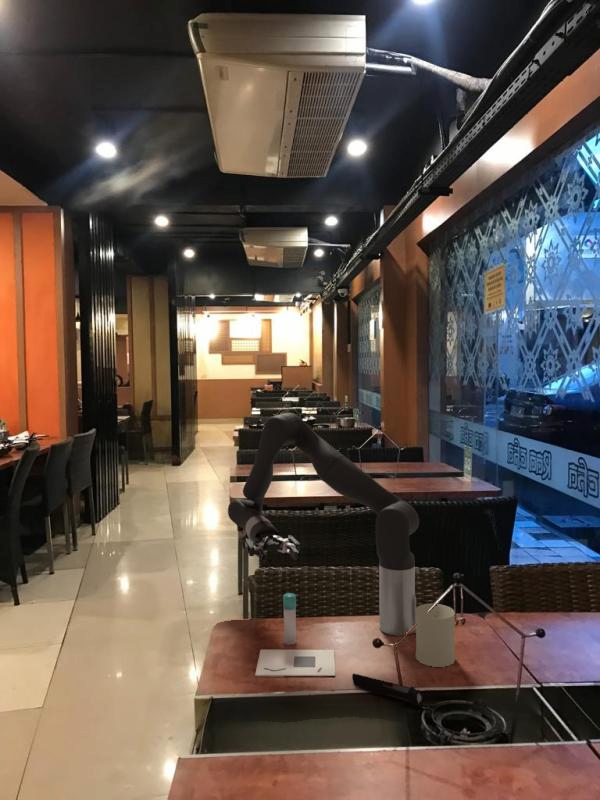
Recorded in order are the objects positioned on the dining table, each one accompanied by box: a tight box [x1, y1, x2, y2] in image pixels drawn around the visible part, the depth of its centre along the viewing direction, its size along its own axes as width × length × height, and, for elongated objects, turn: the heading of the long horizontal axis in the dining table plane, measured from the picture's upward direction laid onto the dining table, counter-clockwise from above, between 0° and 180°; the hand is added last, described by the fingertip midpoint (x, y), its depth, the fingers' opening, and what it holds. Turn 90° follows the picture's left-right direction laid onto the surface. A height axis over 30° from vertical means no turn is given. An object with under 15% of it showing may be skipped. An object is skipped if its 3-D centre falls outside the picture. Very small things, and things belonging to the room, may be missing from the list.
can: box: [414, 603, 456, 668], centre depth 143 cm, size 9×9×12 cm
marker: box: [282, 592, 297, 646], centre depth 152 cm, size 3×3×12 cm
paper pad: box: [254, 649, 336, 677], centre depth 142 cm, size 18×12×1 cm, turn 88°
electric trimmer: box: [351, 673, 424, 708], centre depth 128 cm, size 4×16×3 cm, turn 60°
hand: (281, 557), depth 159 cm, fingers open, 8 cm apart
